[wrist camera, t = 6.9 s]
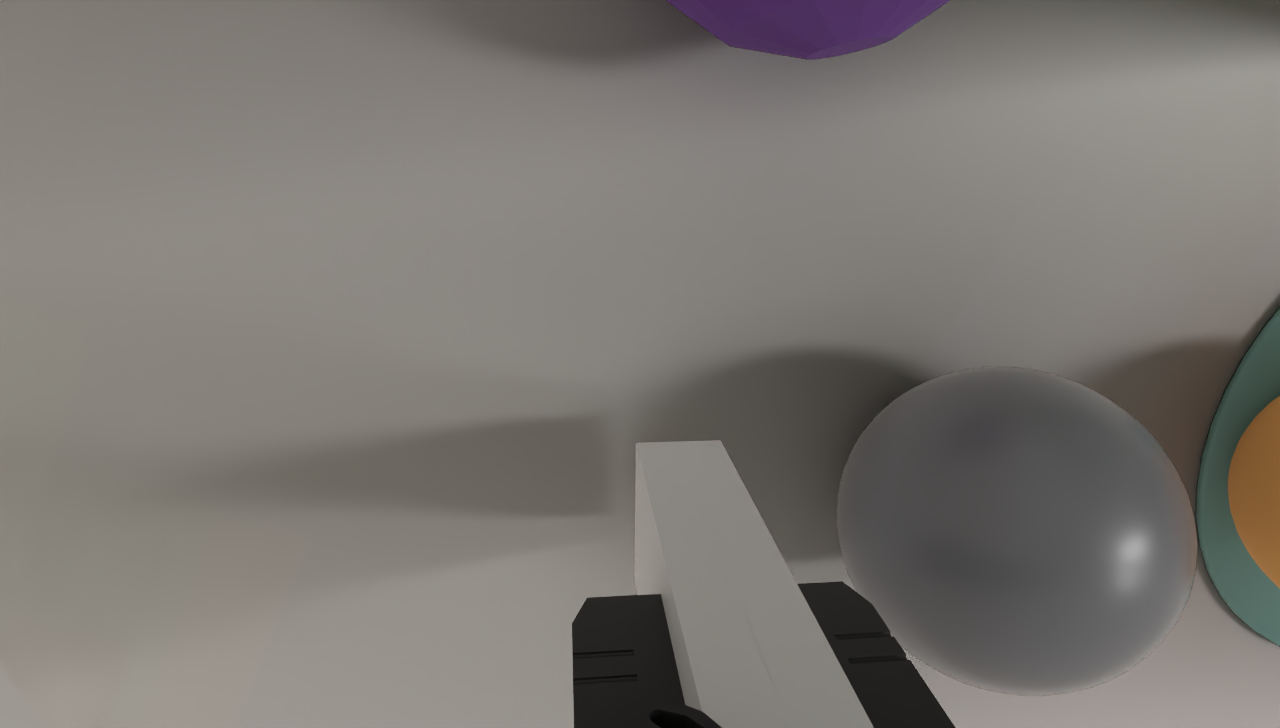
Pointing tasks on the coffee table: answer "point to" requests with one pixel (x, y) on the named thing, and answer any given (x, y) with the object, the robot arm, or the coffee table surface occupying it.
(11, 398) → the coffee table surface
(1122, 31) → the coffee table surface
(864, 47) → the kendama
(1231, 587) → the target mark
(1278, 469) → the orange ball
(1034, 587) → the gray ball
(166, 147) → the coffee table surface
